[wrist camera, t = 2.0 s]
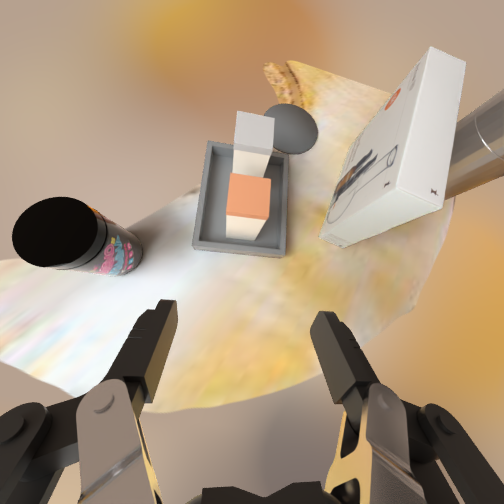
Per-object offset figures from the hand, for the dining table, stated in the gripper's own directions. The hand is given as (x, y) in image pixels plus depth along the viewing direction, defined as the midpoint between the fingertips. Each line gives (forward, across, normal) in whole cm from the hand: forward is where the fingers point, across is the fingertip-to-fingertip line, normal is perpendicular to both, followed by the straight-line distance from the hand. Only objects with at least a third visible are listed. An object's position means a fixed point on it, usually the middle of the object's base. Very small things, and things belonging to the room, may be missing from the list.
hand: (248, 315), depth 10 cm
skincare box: (+27, -19, -2) cm, 33 cm away
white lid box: (+27, 0, -2) cm, 27 cm away
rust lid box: (+21, 0, +4) cm, 21 cm away
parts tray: (+24, 0, +1) cm, 24 cm away
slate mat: (+36, -8, -11) cm, 38 cm away
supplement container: (+17, +17, +9) cm, 25 cm away
